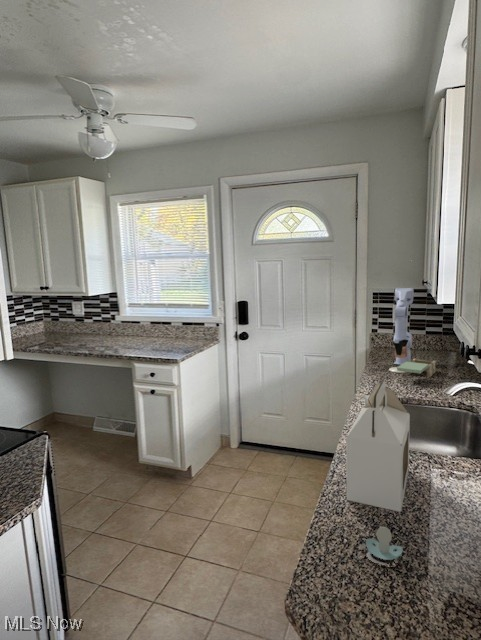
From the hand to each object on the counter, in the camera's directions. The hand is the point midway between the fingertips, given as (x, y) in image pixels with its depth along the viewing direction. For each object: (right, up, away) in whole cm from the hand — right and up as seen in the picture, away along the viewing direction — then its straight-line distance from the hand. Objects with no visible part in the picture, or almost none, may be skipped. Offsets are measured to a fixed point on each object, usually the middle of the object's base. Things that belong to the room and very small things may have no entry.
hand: (400, 353), depth 221 cm
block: (0, -2, 0) cm, 2 cm away
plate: (0, -9, +2) cm, 9 cm away
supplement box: (-38, -22, -75) cm, 86 cm away
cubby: (+9, -10, -5) cm, 14 cm away
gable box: (-48, -27, -108) cm, 122 cm away
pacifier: (-57, -32, -136) cm, 150 cm away
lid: (-1, -6, -18) cm, 19 cm away
